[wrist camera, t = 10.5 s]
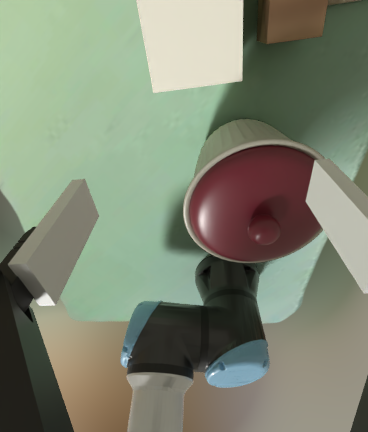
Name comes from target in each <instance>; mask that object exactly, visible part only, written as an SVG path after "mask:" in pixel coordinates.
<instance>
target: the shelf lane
mask: <svg viewBox="0 0 368 432" xmlns="http://www.w3.org/2000/svg"><path fill="white" fill-rule="evenodd" d="M136 1H137V6H138V11H139V17H140V22H141V28H142V33H143V39H144V44H145V49H146V55H147V60H148V66H149V71H150V76H151V82H152V87H153V93H157V92H164V91H172V90H179V89H187V88H194V87H202V86H209V85H216V84H224V83H231V82H239V81H242V62H243V0H136Z"/></svg>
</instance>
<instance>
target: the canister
mask: <svg viewBox="0 0 368 432" xmlns="http://www.w3.org/2000/svg"><path fill="white" fill-rule="evenodd" d="M318 159H325V158H324V157H323V156H322V155H321V154H320V153H319V152H317V151H316V150H314V149H313V148H311V147H309V146H307V145H305V144H302V143H299V142H296V141H292V140H291V139H289V138H288V137H287V136H285V135H284V134H283V133H281V132H280V131H278V130H277V129H275V128H274V127H272V126H270V125H268V124H266V123H264V122H262V121H257V120H255V119H254V120H251V119H239V120H233V121H232V122H229V123H226V124H225V125H223V126H220V127H219V128H218V129H217V130H215V131H214V132H213V133H212V134H211V135H210V136H209V137H208V139H207V140H206V141H205V143H204V146H203V147H202V149H201V152H200V155H199V158H198V161H197V165H196V169H195V174H194V178H193V180H192V181H191V183H190V185H189V187H188V189H187V192H186V195H185V198H184V204H183V217H184V222H185V225H186V228H187V230H188V232H189V234H190V236H191V237H192V239H193V240H194V241H195V242H196V243H197V244H198V245H199V246H200V247H201V248H202V249H204V250H205V251H207V252H208V253H210V254H212V255H214V256H216V257H218V258H221V259H224V260H228V261H232V262H239V263H259V262H266V261H271V260H275V259H278V258H282V257H284V256H287V255H289V254H291V253H294V252H296V251H297V250H299V249H301V248H303V247H304V246H306V245H307V244H308V243H310V242H311V241H312V240H313V239H315V238H316V237H317V236H318V235H319V234H320V233H321V232H322V231H323V228H322V227H321V225H320V223H319V222H318V220H317V219H316V217H315V216H314V214H313V212H312V211H311V209H310V208H309V206H308V204H307V203H306V197H307V193H308V188H309V184H310V179H311V175H312V170H313V166H314V161H315V160H318Z"/></svg>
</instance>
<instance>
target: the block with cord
mask: <svg viewBox="0 0 368 432" xmlns="http://www.w3.org/2000/svg"><path fill="white" fill-rule="evenodd" d="M354 1H360V0H258V21H257V41H259V42H262V43H265V44H272V43H279V42H286V41H293V40H300V39H307V38H314V37H321V36H322V34H323V28H324V22H325V16H326V10H327V6H328V5H334V4H341V3H347V2H354Z"/></svg>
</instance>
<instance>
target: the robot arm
mask: <svg viewBox="0 0 368 432" xmlns="http://www.w3.org/2000/svg"><path fill="white" fill-rule="evenodd" d="M306 203H307V204H308V206H309V208H310V209H311V211H312V212H313V214H314V216H315V217H316V219H317V220H318V222H319V223H320V225H321V227H322V228H323V230H324V231H325V233H326V235H327V236H328V238H329V239H330V241H331V242H332V244H333V246H334V247H335V249H336V250H337V252H338V253H339V255H340V257H341V258H342V260H343V261H344V263H345V265H346V266H347V268H348V269H349V271H350V272H351V274H352V276H353V277H354V279H355V280H356V282H357V283H358V285H359V287H360V288H361V290H362V292H363V293H368V197H367V196H366V195H365V194H364V193H363V192H362V191H361V190H360V189H359V188H358V187H357V186H356V185H355V184H354V183H353V182H352V181H351V180H350V179H349V178H348V177H347V176H346V175H345V174H344V173H343V172H342V171H341V170H340V169H339V168H338V167H337V166H336V165H335V164H334V163H333V162H332V161H331V160H330V159H318V160H315V161H314V166H313V170H312V175H311V179H310V184H309V188H308V193H307V197H306ZM98 217H99V214H98V212H97V209H96V207H95V204H94V201H93V199H92V196H91V194H90V191H89V189H88V186H87V183H86V181H85V179H79V180H72V181H71V183H70V184H69V185H68V186H67V188H66V189H65V190H64V192H63V193H62V194H61V196H60V197H59V198H58V200H57V201H56V202H55V203H54V205H53V206H52V207H51V209H50V210H49V211H48V213H47V214H46V215H45V216H44V218H43V219H42V220H41V222H40V223H39V224H38V226H37V227H33V228H31V229H30V230H29V231H27V232H26V233H25V234H24V235H23V236H22V237H21V238H20V240H19V241H18V243H17V244H16V245H15V246H14V247H13V249H12V250H11V251H10V252H9V253H8V255H7V256H6V257H5V258H4V260H3V261H2V262H1V263H0V432H74V430H73V427H72V424H71V421H70V418H69V415H68V412H67V409H66V406H65V403H64V400H63V398H62V395H61V392H60V389H59V386H58V383H57V380H56V377H55V374H54V371H53V368H52V365H51V362H50V359H49V356H48V353H47V351H46V348H45V345H44V342H43V339H42V336H41V333H40V330H39V327H38V324H37V321H36V318H35V315H34V312H33V310H32V309H31V307H30V306H29V305H30V303H31V301H32V299H33V298H34V299H35V301H36V302H37V303H38V304H39V306H49V305H56V303H57V301H58V299H59V297H60V295H61V293H62V291H63V289H64V287H65V285H66V283H67V281H68V279H69V277H70V275H71V273H72V271H73V269H74V266H75V264H76V262H77V260H78V258H79V256H80V254H81V252H82V250H83V248H84V246H85V244H86V242H87V240H88V238H89V236H90V234H91V231H92V229H93V227H94V225H95V223H96V221H97V219H98ZM195 281H196V286H197V288H198V291H199V293H200V296H201V298H202V301H203V304H204V306H200V305H190V304H179V303H169V302H163V301H158V302H153V301H144V302H141V303H140V304H138V305H137V307H136V308H135V310H134V312H133V314H132V317H131V319H130V322H129V325H128V328H127V332H126V335H125V339H124V346H123V349H122V353H121V364H122V365H123V366H124V367H125V368H127V367H128V371H127V377H126V378H127V380H128V382H129V383H130V385H131V387H132V389H133V396H132V403H131V410H130V416H129V423H128V430H127V432H182V429H183V428H182V427H183V404H184V394H185V392H186V390H188V388H189V387H190V386H191V385H192V384H193V372H204V373H205V377H206V379H207V382H208V383H209V384H211V385H215V386H216V387H226V388H227V387H236V386H242V385H246V384H249V383H251V382H254V381H256V380H258V379H260V378H261V377H262V376H264V375H265V374H266V372H267V371H268V369H269V364H270V361H269V355H268V349H267V347H268V344H267V341H266V339H265V334H264V330H263V326H262V321H261V317H260V313H259V309H258V305H257V300H256V297H257V290H258V283H259V274H258V270H257V267H256V265H255V263H239V262H232V261H228V260H224V259H221V258H218V257H216V256H214V255H213V256H210V257H208V258H206V259H205V260H203V261H202V262H201V263H200V264H199V265H198V267H197V269H196V272H195ZM350 432H368V376H367V380H366V383H365V386H364V389H363V393H362V396H361V399H360V402H359V405H358V409H357V412H356V415H355V418H354V422H353V425H352V428H351V431H350Z"/></svg>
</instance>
